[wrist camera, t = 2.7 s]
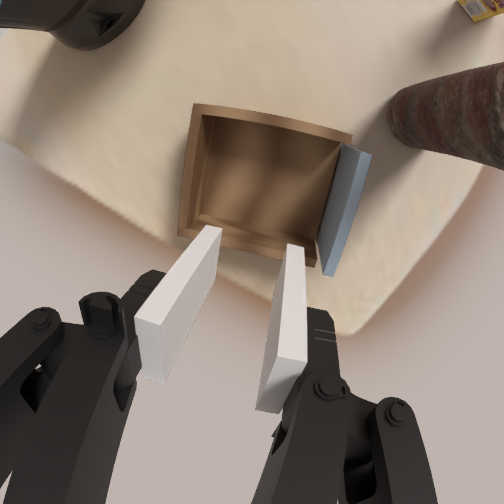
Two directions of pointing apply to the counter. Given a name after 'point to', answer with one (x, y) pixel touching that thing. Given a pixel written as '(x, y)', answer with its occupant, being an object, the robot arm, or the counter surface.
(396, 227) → the counter surface
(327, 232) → the panel
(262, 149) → the box
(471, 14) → the candy box
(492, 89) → the candle
